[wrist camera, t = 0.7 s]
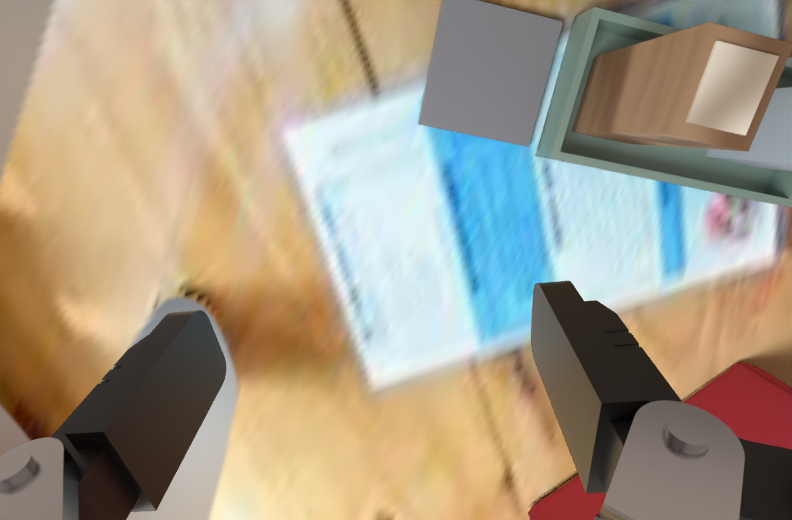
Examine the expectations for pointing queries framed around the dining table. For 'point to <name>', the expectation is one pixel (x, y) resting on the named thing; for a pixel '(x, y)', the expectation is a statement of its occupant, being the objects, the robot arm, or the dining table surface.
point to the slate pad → (488, 70)
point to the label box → (684, 89)
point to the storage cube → (723, 398)
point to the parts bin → (661, 163)
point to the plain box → (768, 137)
